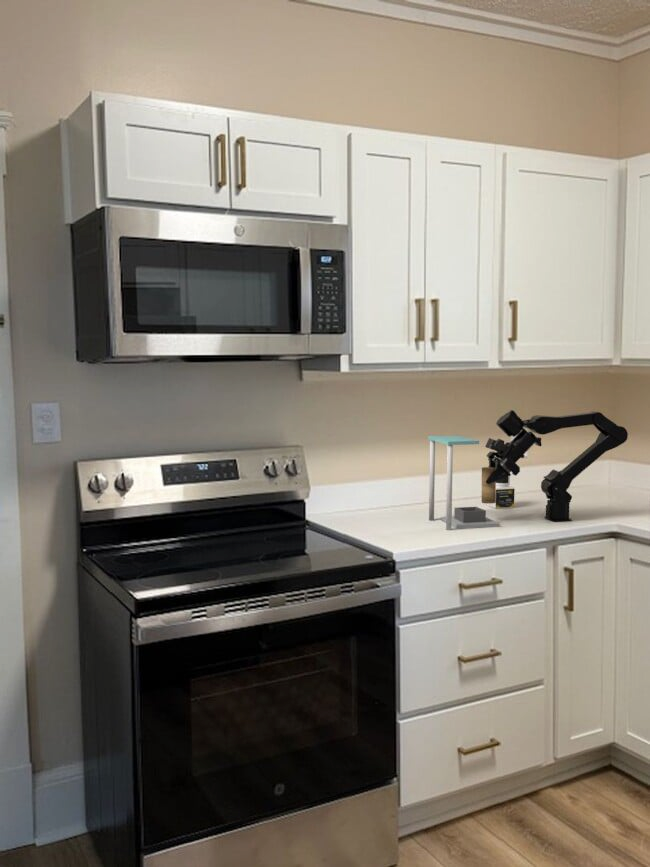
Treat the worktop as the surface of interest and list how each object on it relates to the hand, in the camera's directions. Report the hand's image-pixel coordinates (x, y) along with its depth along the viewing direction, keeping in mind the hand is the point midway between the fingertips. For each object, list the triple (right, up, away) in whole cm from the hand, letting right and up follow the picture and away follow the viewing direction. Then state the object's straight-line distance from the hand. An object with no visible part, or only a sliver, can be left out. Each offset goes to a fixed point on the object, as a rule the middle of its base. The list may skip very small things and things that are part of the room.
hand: (484, 482), depth 277 cm
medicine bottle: (+10, -10, +27) cm, 31 cm away
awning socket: (-7, -13, -3) cm, 15 cm away
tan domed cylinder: (+1, -6, +1) cm, 7 cm away
